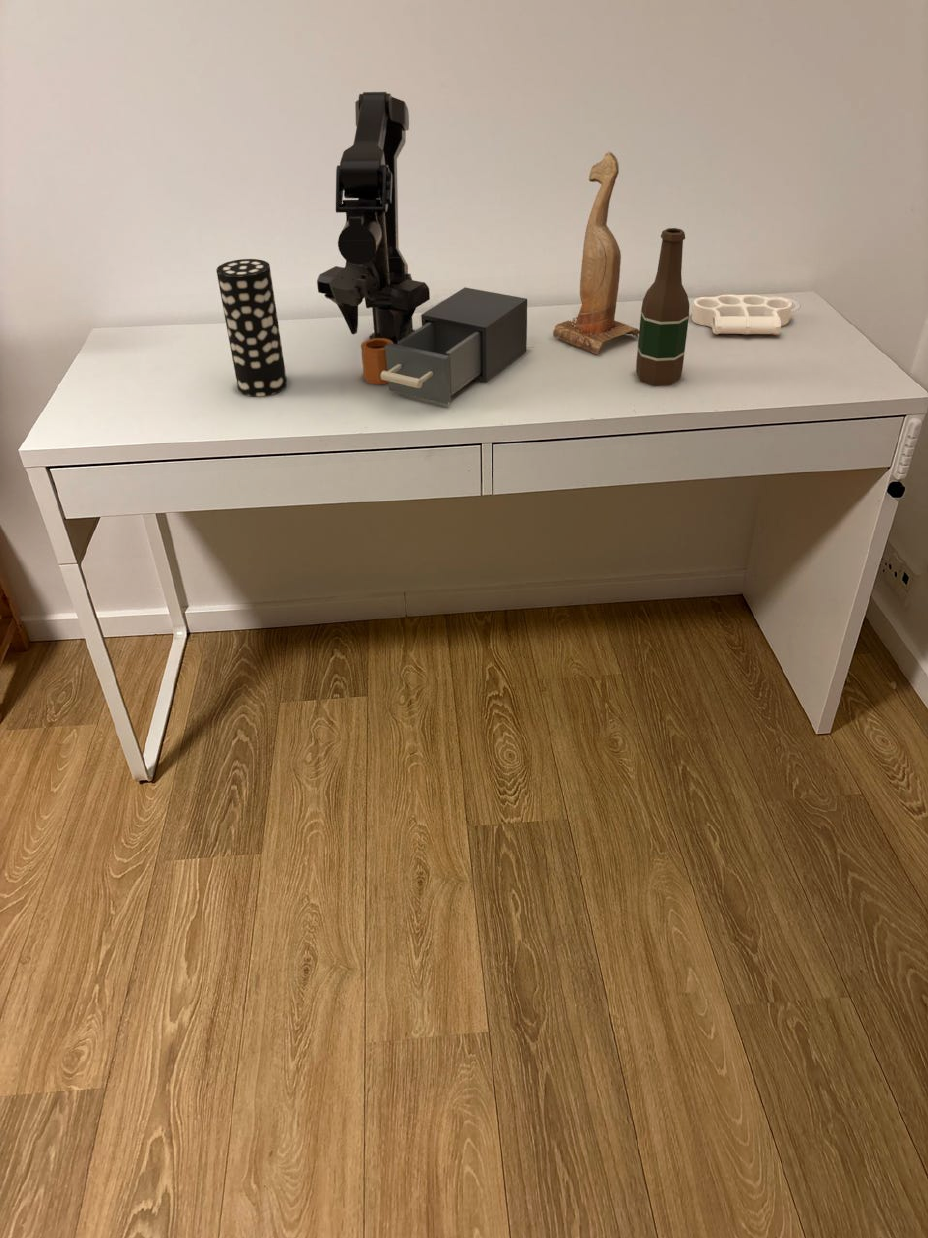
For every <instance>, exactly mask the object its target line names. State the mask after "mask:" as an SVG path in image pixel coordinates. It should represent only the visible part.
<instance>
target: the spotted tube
mask: <svg viewBox="0 0 928 1238" xmlns="http://www.w3.org/2000/svg"><path fill="white" fill-rule="evenodd" d="M215 272H216V276H217V282H218V287H219V292H220V298H221V304H222V309H223V315H224V321H225V325H226V331H227V335H228V336H227V337H228V342H229V347H230V352H231V358H232V363H233V369H234V374H235V380H236V385H237V390H238V392H239V393H240V394H242V395H244V396H249V397H267V396H272V395H275V394H278V393H280V392H282V391H283V390H285V389H286V388H287V386H288V380H287V372H286V366H285V359H284V352H283V347H282V339H281V333H280V332H281V331H280V326H279V319H278V312H277V307H276V299H275V293H274V292H275V291H274V285H273V279H272V273H271V265H270V263H269V262H268V261H266V260H263V259H258V258H241V259H234V260H230V261H227V262H224V263H222V264H220V265H218V266H217V268H216V271H215Z"/></svg>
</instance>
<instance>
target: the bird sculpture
mask: <svg viewBox="0 0 928 1238" xmlns="http://www.w3.org/2000/svg"><path fill="white" fill-rule="evenodd" d="M619 168H620V166H619V161H618V158H617V157H616V155H615V154H614V153H613V152H611V151H609V150H608V151H606V152H605V155H604V156H603V158H602V160H601V161H599V162H596V163H595V164H594V165H593V166H592V167H591V169H590V171H589V177H588V181H589V182H592V183H594V182H595V183H599V185H600V188H599V190H598V192H597V193H596V195H595V199H594V202H593V205H592V207H591V210H590V213H589V217H588V220H587V224H586V228H585V232H584V233H585V234H584V240H583V250H582V259H581V268H580V279H579V297H580V302H581V307H580V310H579V312H578V314H577V315H576V317H573V318H572V320H566V321H562V322H560V323H557V324H556V325H555V326H554V329H553V331H552V337H554V338H557V339H558V340H561V341H562V342H566V343H568V344H570V345H572V346H575V347H576V348H581V349H582V350H585V351H587V352H589V353H593V354H595V355H599V353H600V350H601V349H602V346H603V345H604V343H606V342H608V341H610V340H612V339H615V338H617V337H620V336H622V335H624V334H626V335H629V336H630V335H632V336H633V337H636V338H637V339H639V329H638V328H636V327H633V326H631V325H628V324H625V323H622V322H621V321H617V320H615V319H616V317H615V316H616V309H617V302H618V294H619V284H620V277H621V276H620V275H621V263H622V261H621V260H622V254H621V253H622V252H621V249H620V246H619V244H618V242H617V239H616V238H615V236H614V234H613V232H612V231H611V230H610V228H609V227H608V224H607V222H608V216H609V208H610V202H611V197H612V194H613V190H614V187H615V184H616V179H617V178H618V175H619V172H620V169H619Z"/></svg>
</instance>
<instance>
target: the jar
mask: <svg viewBox="0 0 928 1238" xmlns="http://www.w3.org/2000/svg"><path fill="white" fill-rule="evenodd" d="M388 343H392V344H393V342H392V341H391V340H389V339H385V338H373V339H370V338H369V339H366V340H364V341H362V342H361V344H360V350H361V362H362V373H363V380H364V381H365V382H366V383H368V384H371V385H385V384H388V381H386V380H382V379H381V373H382V371H387V363H386V351H385V345H387V344H388Z"/></svg>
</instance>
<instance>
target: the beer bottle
mask: <svg viewBox="0 0 928 1238" xmlns="http://www.w3.org/2000/svg"><path fill="white" fill-rule="evenodd" d="M660 238H661V239H662V240H661V246H660V253H659V258H658V265H657V272H656V274H655V278H654V282H653V283H652V284H651V285H650V287H648V289H647V290H646V292H645V294H644V297H643V299H642V304H641V310H640V319H639V329H638V330H639V334H638V338H637V339H638V340H637V341H638V342H637V351H636V363H635V365H636V366H635V372H636V376H638V377H637V378H638V379H639V381H640V382H641V383H644V384H645V383H646V384H647V385H651V386H653V387H654V386H655V387H657V386H671V385H674V383H677V382H678V381H679V380H681V377H682V375H683V368H684V361H685V360H684V359H685V353H686V344H687V336H688V327H689V318H690V306H691V305H690V301H689V296H688V293H687V291H686V289H685V288H684V286H683V280H682V270H683V269H682V268H683V248H684V241H685V239H686V233H685V231H684V230H683V229H681V228H676V227H669V228H665V229H663V230H662V231H661V234H660Z"/></svg>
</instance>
